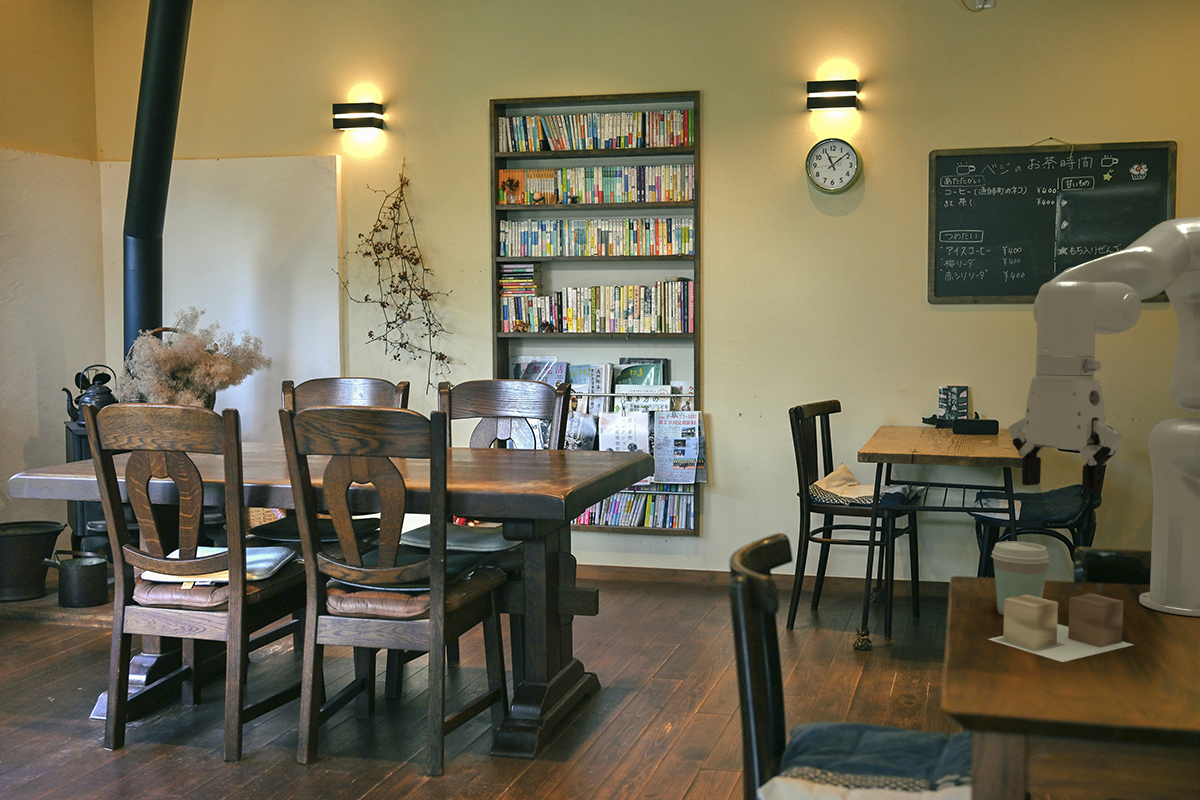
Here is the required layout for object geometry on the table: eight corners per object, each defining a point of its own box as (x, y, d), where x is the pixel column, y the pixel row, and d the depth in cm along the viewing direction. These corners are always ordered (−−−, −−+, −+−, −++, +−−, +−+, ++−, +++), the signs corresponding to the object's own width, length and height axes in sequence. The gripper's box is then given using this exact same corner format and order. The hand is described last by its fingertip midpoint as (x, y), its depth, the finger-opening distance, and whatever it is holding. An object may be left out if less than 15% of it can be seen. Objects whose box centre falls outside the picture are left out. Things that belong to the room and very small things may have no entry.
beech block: (1026, 635, 146) (1027, 594, 146) (1056, 644, 142) (1057, 602, 142) (1003, 639, 144) (1004, 598, 144) (1033, 649, 140) (1035, 606, 139)
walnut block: (1089, 633, 147) (1090, 593, 147) (1121, 642, 143) (1123, 600, 143) (1068, 638, 145) (1069, 597, 145) (1100, 647, 141) (1101, 605, 140)
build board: (1058, 631, 152) (1058, 623, 152) (1133, 653, 142) (1134, 644, 142) (987, 647, 144) (987, 638, 144) (1062, 670, 134) (1062, 661, 134)
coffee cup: (1054, 630, 153) (1056, 552, 153) (994, 626, 155) (996, 550, 155) (1041, 615, 162) (1043, 541, 161) (985, 612, 164) (987, 539, 163)
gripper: (1139, 370, 136) (1134, 495, 137) (1029, 367, 151) (1026, 480, 152) (1104, 370, 133) (1099, 498, 133) (995, 367, 148) (992, 483, 149)
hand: (1060, 488), depth 143 cm, fingers open, 9 cm apart
